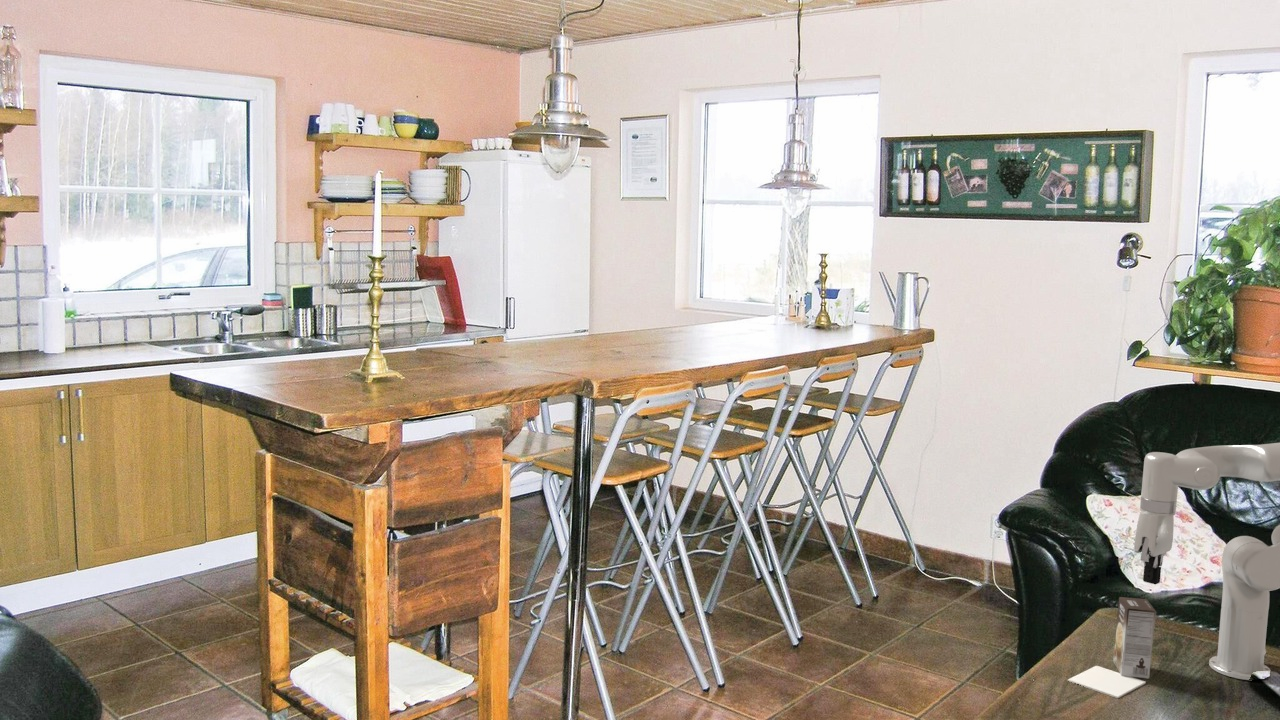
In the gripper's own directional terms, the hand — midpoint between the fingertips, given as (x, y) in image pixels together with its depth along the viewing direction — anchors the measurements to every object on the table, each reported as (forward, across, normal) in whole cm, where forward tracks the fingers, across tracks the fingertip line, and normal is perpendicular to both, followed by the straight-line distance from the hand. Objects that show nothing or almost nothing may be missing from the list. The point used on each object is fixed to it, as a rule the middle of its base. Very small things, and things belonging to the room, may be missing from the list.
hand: (1151, 582), depth 256 cm
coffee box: (+20, +8, 0) cm, 21 cm away
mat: (+20, +18, 0) cm, 27 cm away
